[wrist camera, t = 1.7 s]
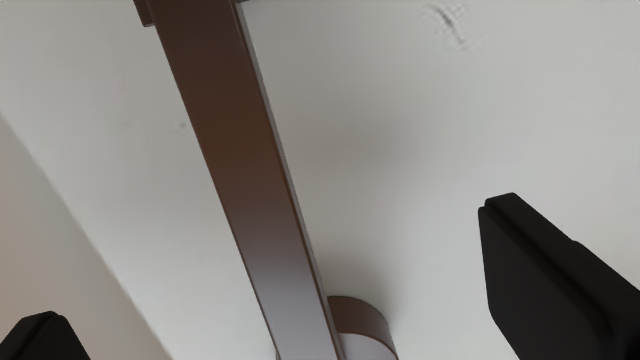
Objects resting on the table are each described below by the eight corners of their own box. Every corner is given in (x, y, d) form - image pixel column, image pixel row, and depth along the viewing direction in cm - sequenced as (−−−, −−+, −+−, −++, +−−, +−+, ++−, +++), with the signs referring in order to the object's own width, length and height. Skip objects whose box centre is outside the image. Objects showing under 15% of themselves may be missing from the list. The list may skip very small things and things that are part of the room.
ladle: (397, 369, 23) (452, 538, 16) (292, 395, 23) (300, 575, 16) (300, -55, 15) (323, -96, 8) (140, -12, 15) (19, -15, 8)
